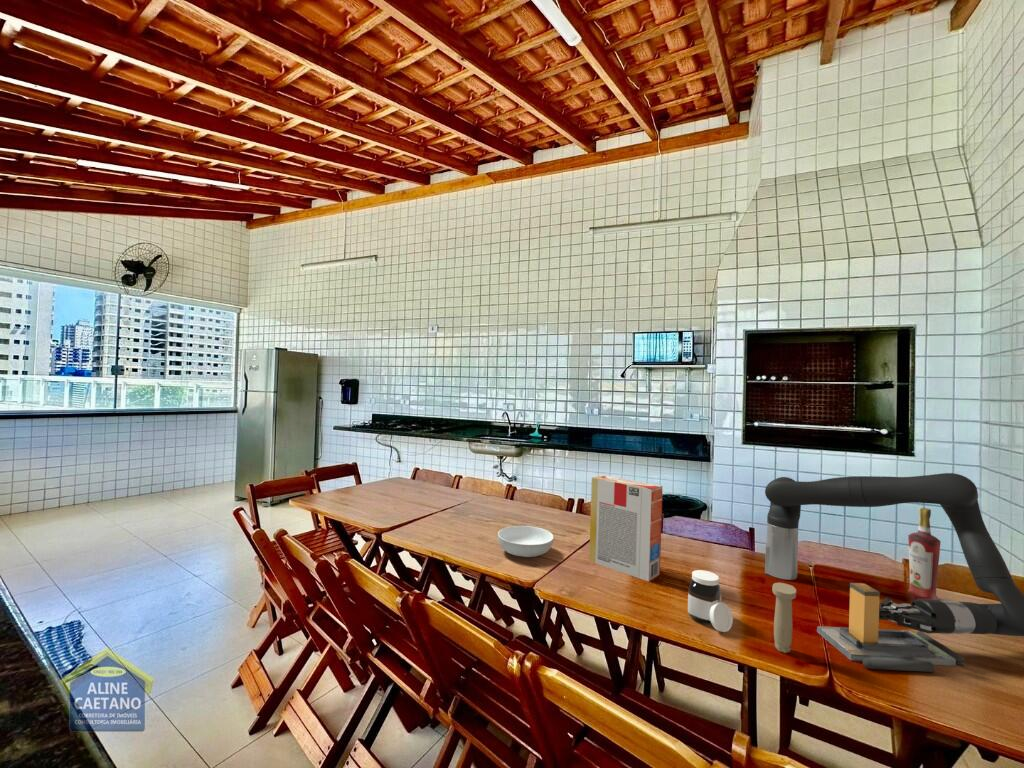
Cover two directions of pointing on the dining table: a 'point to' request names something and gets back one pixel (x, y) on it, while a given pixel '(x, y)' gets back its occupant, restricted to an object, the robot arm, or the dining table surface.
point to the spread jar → (708, 601)
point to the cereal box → (626, 526)
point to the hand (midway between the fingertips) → (871, 613)
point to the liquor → (923, 559)
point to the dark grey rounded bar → (942, 647)
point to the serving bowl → (525, 540)
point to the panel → (886, 646)
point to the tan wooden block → (864, 612)
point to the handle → (783, 616)
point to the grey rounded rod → (899, 665)
